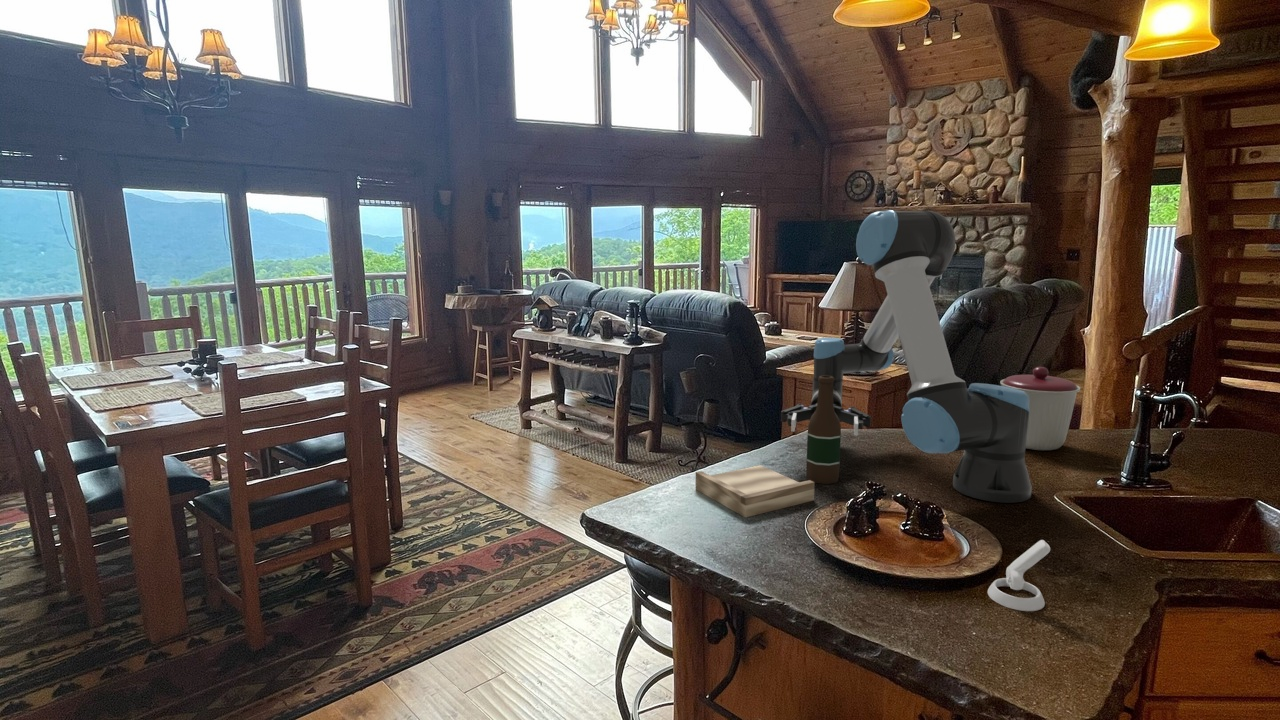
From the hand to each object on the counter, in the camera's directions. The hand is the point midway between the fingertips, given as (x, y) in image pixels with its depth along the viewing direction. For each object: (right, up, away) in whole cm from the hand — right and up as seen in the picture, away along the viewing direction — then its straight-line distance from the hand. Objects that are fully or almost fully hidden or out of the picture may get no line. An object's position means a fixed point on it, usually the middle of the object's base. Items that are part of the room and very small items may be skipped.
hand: (824, 427), depth 150 cm
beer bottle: (+1, -12, +5) cm, 14 cm away
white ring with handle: (+16, -22, -47) cm, 54 cm away
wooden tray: (-16, -14, -4) cm, 22 cm away
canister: (+63, -8, +29) cm, 70 cm away
